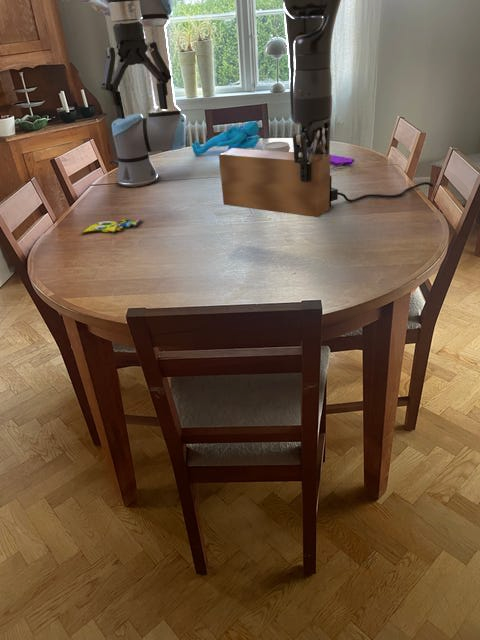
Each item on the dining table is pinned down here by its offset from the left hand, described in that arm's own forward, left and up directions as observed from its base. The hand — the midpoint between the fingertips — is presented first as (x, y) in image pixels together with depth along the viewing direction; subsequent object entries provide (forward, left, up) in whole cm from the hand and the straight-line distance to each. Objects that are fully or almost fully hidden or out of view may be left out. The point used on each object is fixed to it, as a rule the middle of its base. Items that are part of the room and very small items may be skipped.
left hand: (143, 113), depth 131 cm
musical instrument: (-18, +71, -30) cm, 80 cm away
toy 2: (-59, +49, -30) cm, 83 cm away
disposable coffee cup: (-12, +48, -30) cm, 58 cm away
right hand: (+50, +22, -10) cm, 56 cm away
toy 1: (-3, -15, -30) cm, 34 cm away
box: (+42, +17, -18) cm, 49 cm away
